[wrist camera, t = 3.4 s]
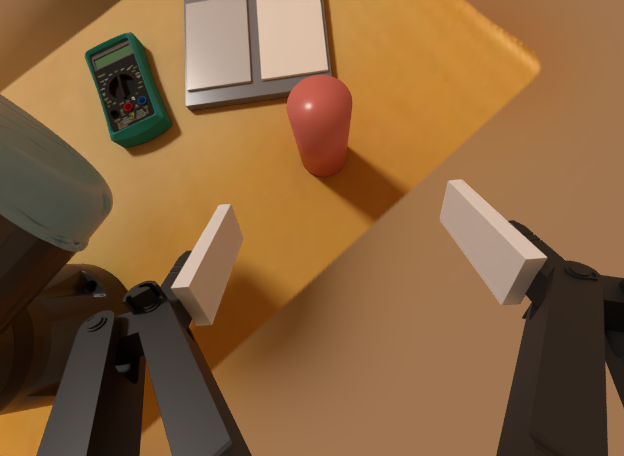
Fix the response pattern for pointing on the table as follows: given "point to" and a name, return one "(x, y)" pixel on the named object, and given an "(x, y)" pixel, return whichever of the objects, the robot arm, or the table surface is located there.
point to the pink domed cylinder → (321, 122)
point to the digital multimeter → (127, 90)
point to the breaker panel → (251, 49)
